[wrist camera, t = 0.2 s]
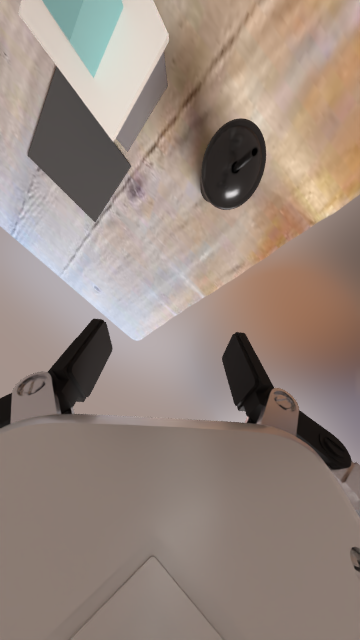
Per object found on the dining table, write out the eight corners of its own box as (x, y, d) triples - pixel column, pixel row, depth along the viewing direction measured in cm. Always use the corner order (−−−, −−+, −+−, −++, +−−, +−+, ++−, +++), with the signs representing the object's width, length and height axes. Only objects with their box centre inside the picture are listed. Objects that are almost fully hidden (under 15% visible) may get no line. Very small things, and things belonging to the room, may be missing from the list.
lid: (77, -147, 12) (-2, -421, 7) (169, 49, 17) (164, -22, 12) (32, 32, 16) (-35, -51, 11) (116, 144, 21) (95, 123, 16)
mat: (58, 68, 21) (56, 66, 20) (131, 166, 26) (130, 165, 26) (29, 156, 26) (27, 155, 25) (95, 221, 32) (94, 221, 31)
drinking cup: (186, 194, 29) (192, 169, 13) (210, 146, 25) (264, 24, 9) (214, 219, 31) (249, 225, 15) (240, 179, 27) (324, 131, 11)
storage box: (109, -28, 17) (73, -148, 11) (167, 85, 21) (162, 40, 16) (72, 74, 21) (31, 23, 15) (127, 151, 25) (112, 134, 20)
